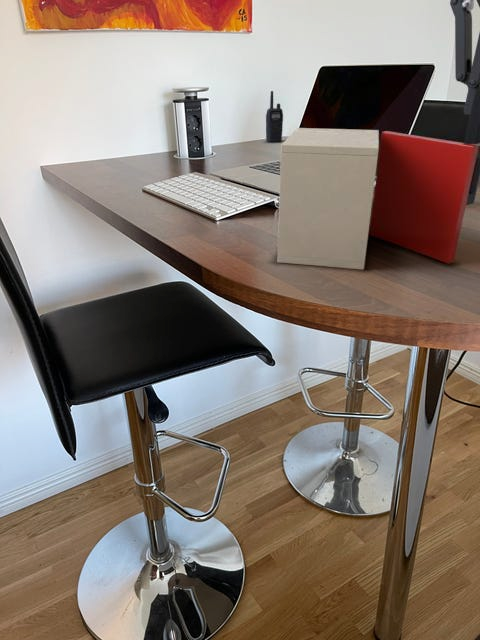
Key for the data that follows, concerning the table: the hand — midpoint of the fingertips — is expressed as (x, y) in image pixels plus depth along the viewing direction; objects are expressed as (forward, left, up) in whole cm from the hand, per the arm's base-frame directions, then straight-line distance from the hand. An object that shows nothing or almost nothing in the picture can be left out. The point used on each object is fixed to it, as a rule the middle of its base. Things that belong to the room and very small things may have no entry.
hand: (473, 142), depth 66 cm
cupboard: (+18, +2, -16) cm, 24 cm away
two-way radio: (+43, -92, -16) cm, 103 cm away
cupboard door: (+4, -2, -15) cm, 16 cm away
